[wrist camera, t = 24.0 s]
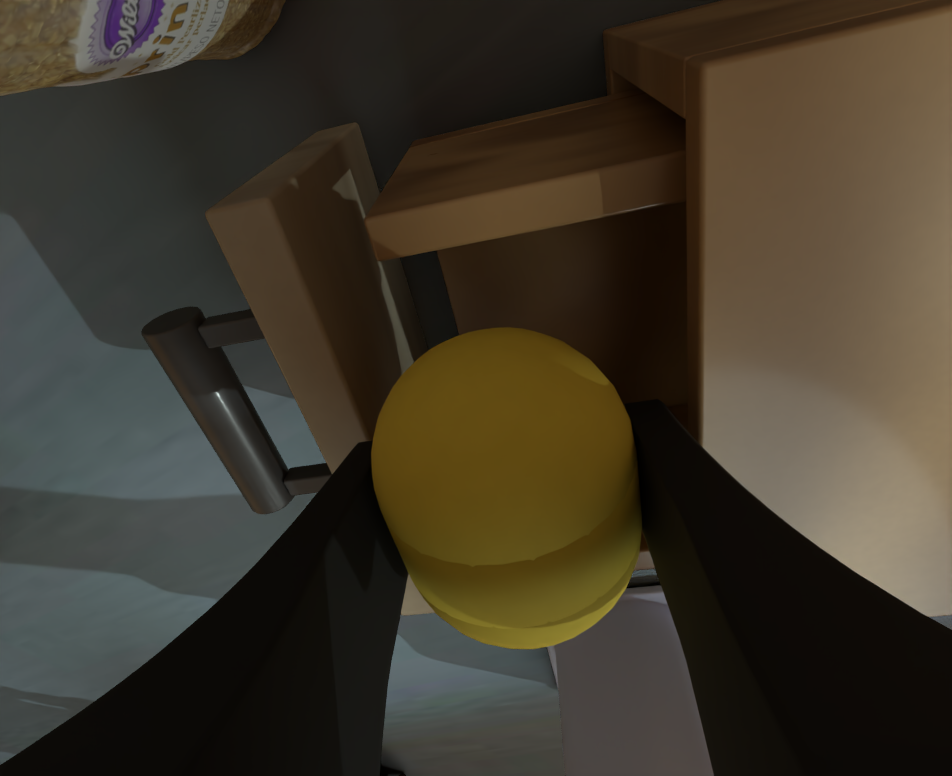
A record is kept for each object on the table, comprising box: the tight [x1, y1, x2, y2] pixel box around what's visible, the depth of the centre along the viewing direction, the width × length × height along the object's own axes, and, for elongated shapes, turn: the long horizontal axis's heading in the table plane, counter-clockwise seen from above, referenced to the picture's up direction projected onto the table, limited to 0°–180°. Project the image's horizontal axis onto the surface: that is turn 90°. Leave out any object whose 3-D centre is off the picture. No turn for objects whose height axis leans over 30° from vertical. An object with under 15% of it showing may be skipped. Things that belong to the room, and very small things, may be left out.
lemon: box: [371, 327, 642, 649], centre depth 10 cm, size 6×5×5 cm
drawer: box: [141, 88, 688, 616], centre depth 14 cm, size 17×11×7 cm
